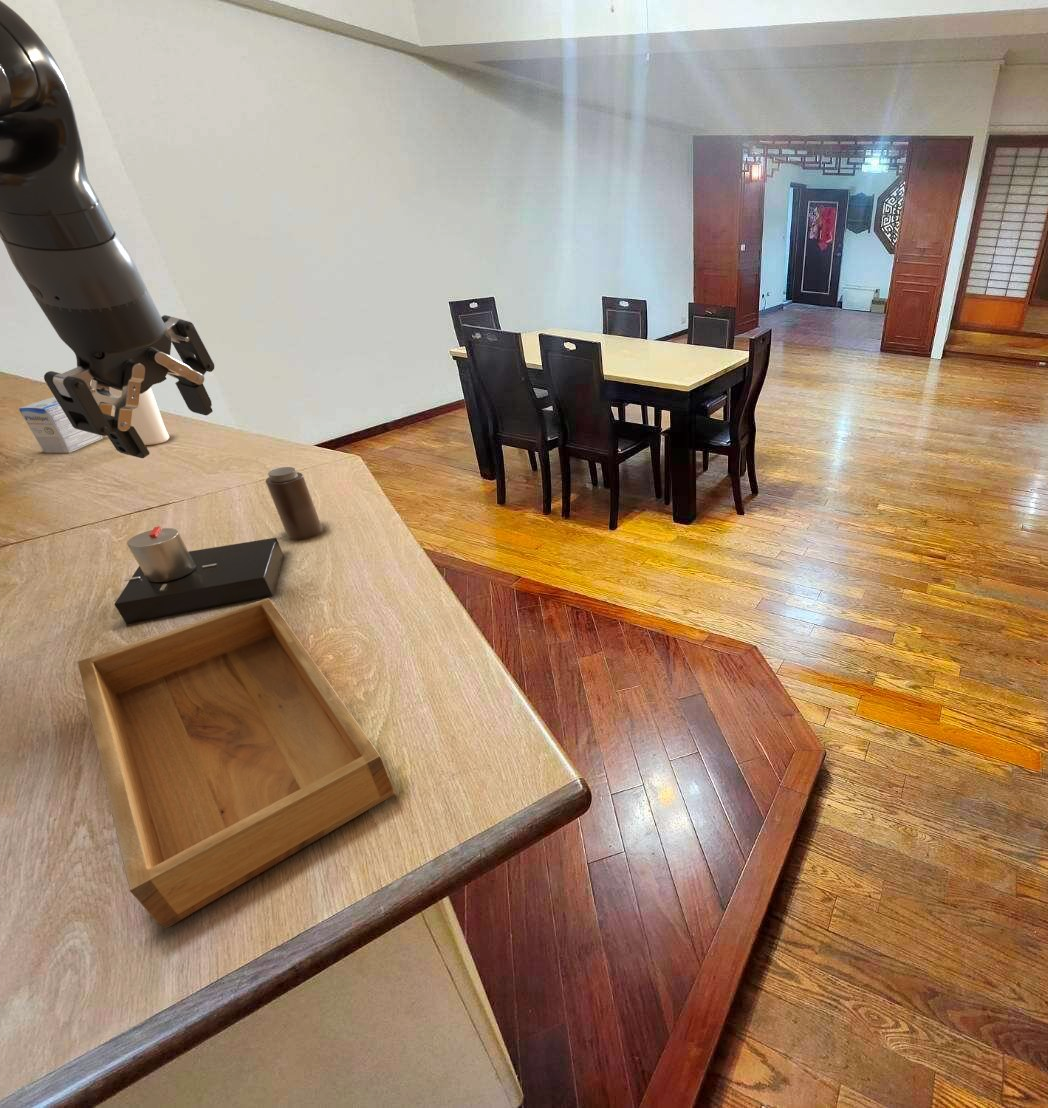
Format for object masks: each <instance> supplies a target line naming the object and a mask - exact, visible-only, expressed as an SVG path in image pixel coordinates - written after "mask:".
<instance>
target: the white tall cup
mask: <svg viewBox="0 0 1048 1108" xmlns="http://www.w3.org/2000/svg"><path fill="white" fill-rule="evenodd" d="M109 392H110V394H111V395H113V396H117V397H121V396H122V391H120V390H116V389H114V388H111V387H109ZM112 410H113V411H115V406H114V405H112ZM130 426H133V427H134V428H135V430H136V431H137V433H138V434H139V436H140V438H141V439H142V441H143V443H144V444H145V446H152V445H153V446H154V445H157V444H162V443H165V442H167V441H168V440H169V439H170V435H169V433H168V431H167V428H166V425H165V422H164V419H163V418H162V414H161V411H160V409H159V406H158V403H157V401H156V397H155V395H154V392H153V389H152V386H151V387H150V388H149V389H148V390H147V391H145V392H144V393H142V394H140V395H139V403H138V407H137V408H136V409H133V410H132V417H131V425H130Z"/></svg>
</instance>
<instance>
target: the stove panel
mask: <svg viewBox="0 0 1048 1108" xmlns="http://www.w3.org/2000/svg"><path fill="white" fill-rule="evenodd" d="M188 552H189V554H190V556H191V557H192V559H193V561H194V563H195V565H196V567H195V569H194V570H193V571H192V572H191V573H190V574H188V575H186V576H184V577H181V578H178V579H175V580H171V581H167V582H151V581H148V580H147V578H146V576H145V575H144V573H143V571H142V569H141V568H140V566H139V565H138V567H137V568H136V570H135V572H134V573H133V575H132V576H131V577H128V578H124V580H123V581H124V582H127V584H126V585H125V587H124V588H123V590H122V591H121V592H120V595H119V596H118V598H116V601H115V602H114V606H115V608H116V610H117V611H118V613H119V614H120V616H121V618H122V619H123V621H124V623H125V624H126V625H133V624H138V623H141V622H147V621H152V620H153V621H154V620H157V619H164V618H168V617H173V616H179V615H184V614H188V613H194V612H198V611H204V610H209V609H214V608H215V609H216V608H220V607H225V606H226V607H227V606H230V605H236V604H241V603H245V602H251V601H257V600H263V599H266V598H272V597H274V593H275V589H276V585H277V582H278V578H279V575H280V571H281V568H282V564H283V560H284V557H285V555H284V553H283V550H282V548H281V546H280V544H279V541H278V538H277V537H272V538H266V539H265V538H264V539H259V540H253V541H252V540H251V541H246V542H240V543H234V544H226V545H221V546H214V547H209V548H201V549H196V550H190V551H189V550H188Z"/></svg>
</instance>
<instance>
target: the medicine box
mask: <svg viewBox="0 0 1048 1108" xmlns="http://www.w3.org/2000/svg"><path fill="white" fill-rule="evenodd" d="M18 410H19V413H20V414H21V416H22V418H23V419H24V420H25V423H26V424H27V427H29V430H30V431H31V433H32V434H33V436H34V437H35V439H36V442H37V443H38V444H39V446H40V448H41V450H42V451H43V452H44V453H46V454H71V453H72V452H75V451H78V450H80V449H82V448H85V447H87V446H89V445H91V444H93V443H96V442H98V441H101V440H103V439H104V438H103V437H104V436H102V435H98V434H94V433H90V432H86V431H82V430H78V429H75V428H74V427H73V426H72V424H71V423H70V421H69V419H68V418H67V416H66V415H65V413H64V411H63V410H62V408H61V406H60V405H59V403H58V401H57V400H56V398H55V397H54V396H51V397H49V398H45V399H43V400H40V401H36V402H33V403H30V404H27V405H24V406H21V407H19V408H18Z"/></svg>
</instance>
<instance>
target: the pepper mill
mask: <svg viewBox="0 0 1048 1108" xmlns="http://www.w3.org/2000/svg"><path fill="white" fill-rule="evenodd" d="M267 476H268V477H267V478H266V479H265V484H266V486H267V489H268V491H269V494H270V496H271V499H272V501H273V504H274V506H275V510H276V511H277V514H278V517H279V519H280V521H281V524H282V526H283V529H284V531H285V534H286V536H287V538H288V539H289V540H293V541H302V540H307V539H311V538H314V537H316V536H318V535H320V534H321V533H322V532H323V531H324V529H323V527H322V523H321V521H320V517H319V515H318V513H317V510H316V507H315V504H314V502H313V499H312V496H311V493H310V490H309V487H308V485H307V482H306V480H305V477H304V475H303V473H302V472H298V471H297V470H296V468H295V467H292V466H283V467H277V468H273V469H271V470H269V471H268V472H267Z"/></svg>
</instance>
